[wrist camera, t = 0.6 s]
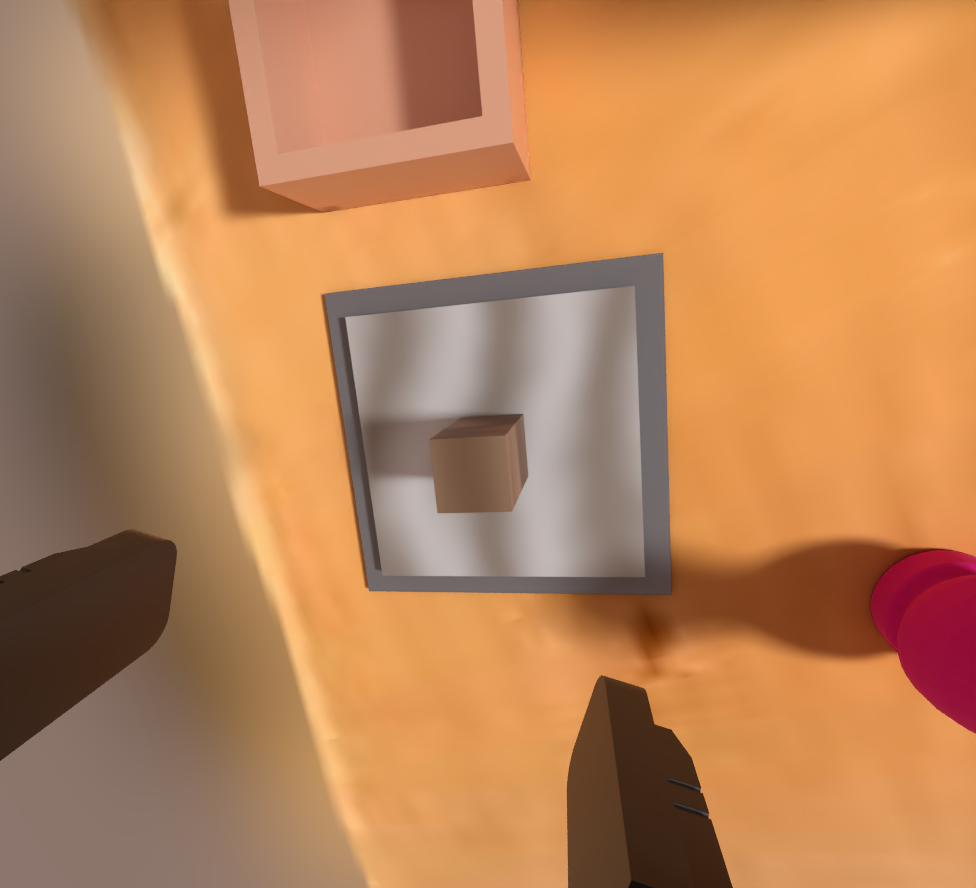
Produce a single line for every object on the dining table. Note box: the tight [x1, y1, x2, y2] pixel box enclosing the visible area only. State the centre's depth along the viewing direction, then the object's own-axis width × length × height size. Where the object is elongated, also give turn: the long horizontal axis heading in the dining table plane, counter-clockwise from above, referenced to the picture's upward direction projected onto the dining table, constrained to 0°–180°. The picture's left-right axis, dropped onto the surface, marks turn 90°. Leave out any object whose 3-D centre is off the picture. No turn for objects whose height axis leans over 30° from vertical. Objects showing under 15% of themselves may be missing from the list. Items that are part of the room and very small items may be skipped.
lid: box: [345, 286, 645, 577], centre depth 28 cm, size 16×16×7 cm
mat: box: [324, 253, 671, 595], centre depth 31 cm, size 19×19×1 cm
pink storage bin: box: [228, 0, 531, 212], centre depth 25 cm, size 12×12×6 cm
